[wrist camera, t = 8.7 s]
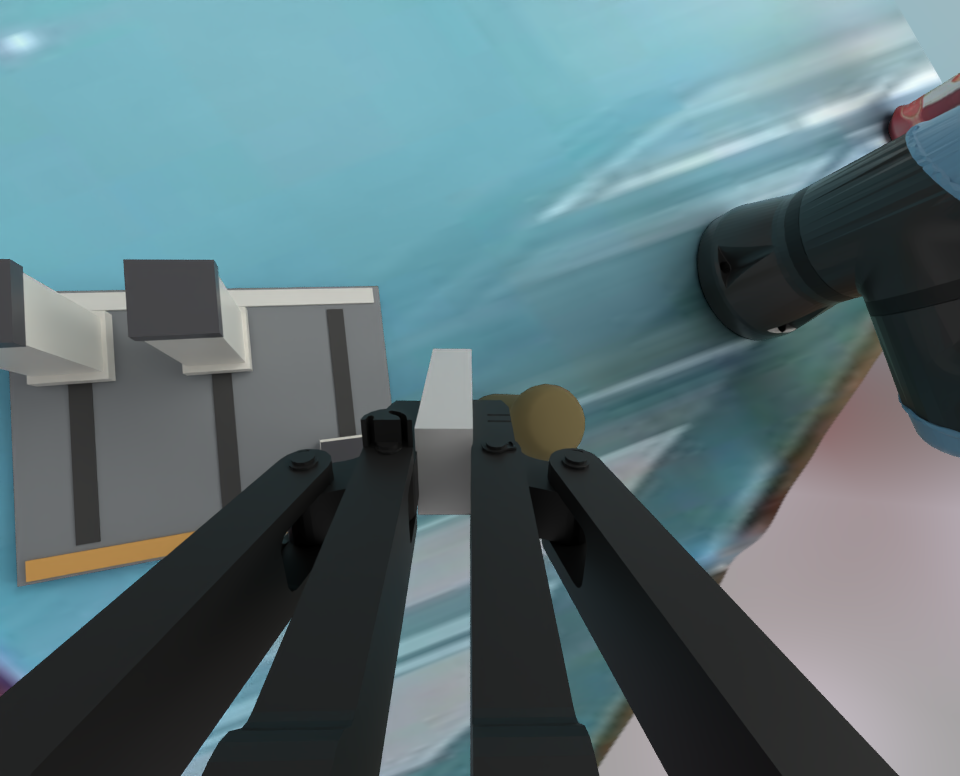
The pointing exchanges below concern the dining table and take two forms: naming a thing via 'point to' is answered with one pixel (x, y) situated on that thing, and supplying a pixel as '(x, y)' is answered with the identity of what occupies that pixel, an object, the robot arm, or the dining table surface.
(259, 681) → the dining table surface
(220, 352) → the lever mid
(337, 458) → the lever
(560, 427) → the cork
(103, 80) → the dining table surface
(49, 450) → the panel
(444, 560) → the dining table surface
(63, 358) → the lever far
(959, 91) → the liquor
